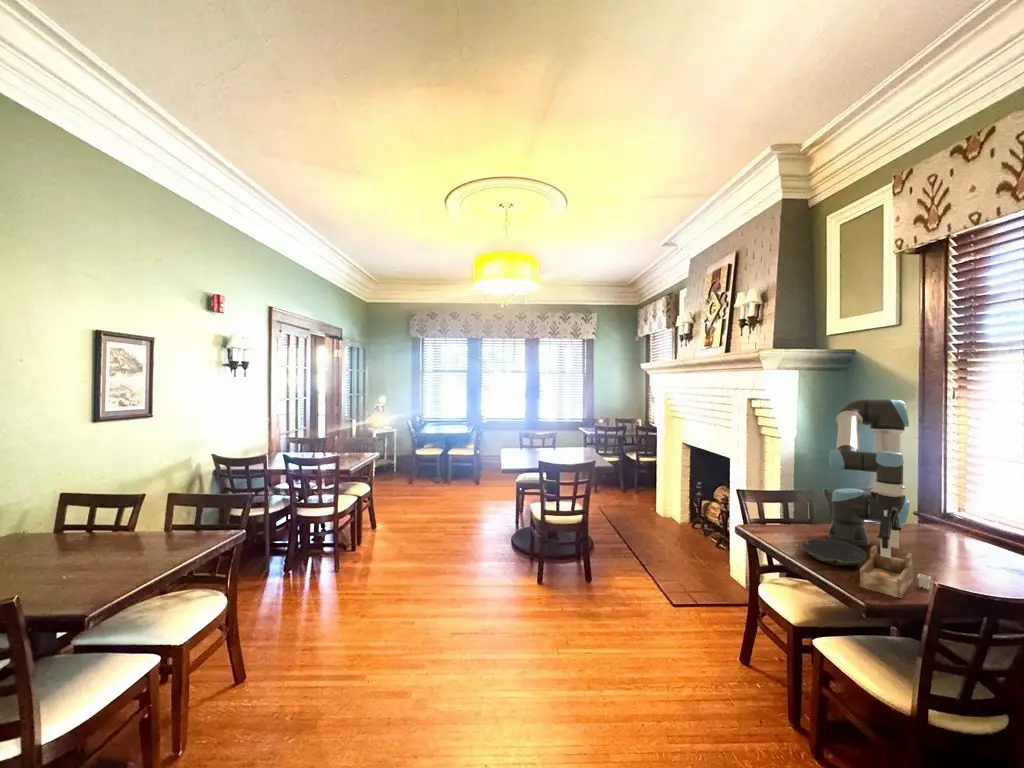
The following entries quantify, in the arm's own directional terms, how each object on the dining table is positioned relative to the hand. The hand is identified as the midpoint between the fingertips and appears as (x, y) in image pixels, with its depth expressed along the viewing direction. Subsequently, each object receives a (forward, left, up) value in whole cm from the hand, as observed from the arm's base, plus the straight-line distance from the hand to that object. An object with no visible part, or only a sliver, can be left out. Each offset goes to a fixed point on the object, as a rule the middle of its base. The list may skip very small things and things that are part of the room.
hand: (889, 552), depth 160 cm
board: (-19, +7, -11) cm, 23 cm away
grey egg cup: (+9, +2, -10) cm, 14 cm away
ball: (0, -10, -7) cm, 13 cm away
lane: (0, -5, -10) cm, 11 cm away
